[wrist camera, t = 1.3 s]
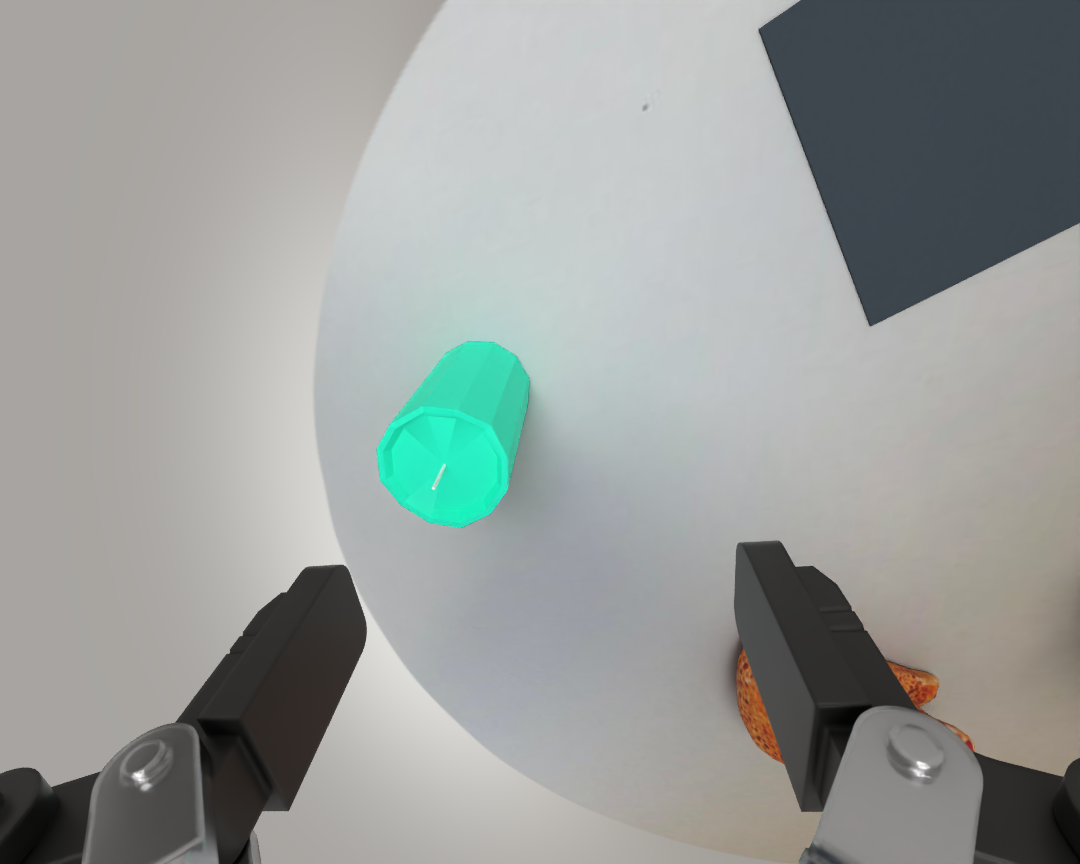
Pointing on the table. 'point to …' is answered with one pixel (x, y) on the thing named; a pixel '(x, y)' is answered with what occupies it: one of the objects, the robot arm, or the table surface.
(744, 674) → the figurine
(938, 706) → the table surface
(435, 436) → the candle
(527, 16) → the table surface
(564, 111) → the table surface
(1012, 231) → the mat
